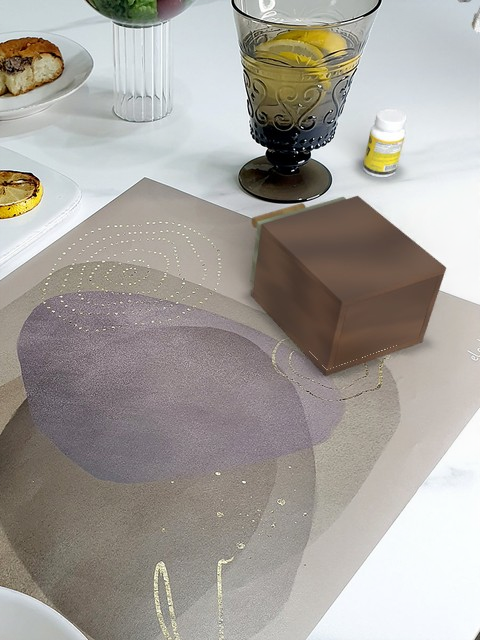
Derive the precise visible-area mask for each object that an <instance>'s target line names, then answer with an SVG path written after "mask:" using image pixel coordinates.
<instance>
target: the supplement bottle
mask: <svg viewBox="0 0 480 640" xmlns="http://www.w3.org/2000/svg"><path fill="white" fill-rule="evenodd" d="M406 122H407V115H406V113H404V112H403V111H401V110H399V109H395V108H383V109H381V110H379V111H377V113H376V116H375V119H374V124H373V125H372V126H371V128H370V131H369V136H368V140H367V145H366V150H365V155H364V159H363V164H362V169H363V172H365V174H368V175H369V176H371V177H376V178H388V177H392V176H393V175H394V174H396V172H397V170H398V165H399V161H400V159H401V153H402V150H403V149H402V148H403V145H404V141H405V137H406V129H405V126H406Z"/></svg>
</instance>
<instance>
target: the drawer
mask: <svg viewBox="0 0 480 640" xmlns="http://www.w3.org/2000/svg"><path fill="white" fill-rule="evenodd" d="M345 199H347V198H346V197H345V196H341V197H337V198H334V199H330V200H327V201H324V202H320V203H317V204H313V205H310V206H307V207H306V205H305V204H304V203H302V202H301V203H298V204H294V205H291V206H287V207H283V208H279V209H277V210H274V211H270V212H266V213H263V214H259V215H256V216H253V217H252V218H251V225H252V227H253V228H254V229H256V230H255V238H254V246H253V253H252V260H251V261H252V262H251V270H250V275H249V276H250V278H249V283H250V284H251V285H252V286H253V284H254V277H255V269H256V261H257V254H258V246H259V238H260V231H261V224H263V223H266V222H269V221H273V220H276V219H280V218H283V217H287V216H290V215H293V214H297V213H300V212H304V211H307V210H310V209H314V208H317V207H321V206H324V205H327V204H331V203H334V202H338V201H341V200H345Z"/></svg>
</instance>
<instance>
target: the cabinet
mask: <svg viewBox="0 0 480 640" xmlns="http://www.w3.org/2000/svg"><path fill="white" fill-rule="evenodd" d="M446 270H447V266H445V264H443V263H441V261H439V260H438V259H437V258H436V257H434V256H433V255H432V254H431V253H429V252H428V251H427V250H426V249H424V248H423V247H422V246H421V245H419V244H418V243H417V242H416V241H415V240H413V239H412V238H411V237H409V236H408V235H407V234H406V233H405V232H404V231H402V230H401V229H400V228H398V227H397V226H396V225H394V223H392V222H391V221H390V220H388V218H386V217H385V216H383V214H381V213H380V212H379V211H377V210H376V209H375V208H374V207H373V206H371V205H370V204H369V203H367V201H366V200H364V199H362V198H361V197H360V196H359V195H355V196H351V197H348V198H346V199H345V200H341V201H338V202H334V203H331V204H327V205H324V206H321V207H317V208H314V209H310V210H307V211H304V212H300V213H297V214H293V215H290V216H287V217H283V218H280V219H276V220H273V221H269V222H266V223H263V224H261V231H260V238H259V246H258V254H257V261H256V269H255V277H254V284H253V285H252V293H251V297H252V299H253V300H254V301H255V302H256V303H257V304H258V305H259V306H260V307H261V309H263V311H264V312H265V313H266V314H267V315H268V316H269V317H270V318H271V319H272V320H273V321H274V323H275V324H277V325H278V327H279V328H280V329H281V330H282V331H283V332H284V334H286V336H287V337H288V338H289V339H290V340H291V341H292V342H293V343H294V344H295V345H296V346H297V347H298V349H299V350H300V351H301V352H302V353H303V354H304V355H305V356H306V357H307V359H309V361H310V362H311V363H312V364H313V365H314V366H315V367H316V368H317V369H318V370H319V371H320V372H321V373H322V374H323V376H324V377H328V376H330V375H334V374H335V373H338V372H342V371H345V370H347V369H350V368H353V367H356V366H359V365H362V364H365V363H367V362H371V361H373V360H376V359H378V358H382V357H384V356H387V355H390V354H392V353H396V352H398V351H401V350H405V349H407V348H410V347H412V346H415V345H418V344H422V343H423V341H424V337H425V334H426V331H427V329H428V325H429V323H430V321H431V320H430V319H431V316H432V313H433V310H434V307H435V304H436V301H437V299H438V295H439V292H440V289H441V285H442V282H443V279H444V276H445V274H446V272H447V271H446ZM396 345H397V346H396ZM393 346H394V347H393ZM390 347H391V348H390ZM387 348H388V349H387ZM384 349H386V350H384ZM381 350H383V351H381ZM309 351H310V352H311V353H312V354H313V355H314V356H315V357H316V358H317V359H318V360H317V359H316V358H315V357H314V356H313V355H312V354H311V353H310V352H309ZM378 351H380V352H378ZM376 352H377V353H376ZM373 353H374V354H373ZM370 354H371V355H370ZM367 355H368V356H367ZM364 356H366V357H364ZM362 357H363V358H362ZM356 359H357V360H356ZM353 360H354V361H353ZM350 361H351V362H350ZM347 362H348V363H347ZM344 363H346V364H344ZM341 364H343V365H341ZM322 365H323V366H324V367H325V368H326V369H328V370H326V369H325V368H324V367H323V366H322ZM339 365H340V366H339ZM336 366H337V367H336ZM333 367H334V368H333ZM330 368H331V369H330Z"/></svg>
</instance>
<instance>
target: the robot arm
mask: <svg viewBox="0 0 480 640" xmlns="http://www.w3.org/2000/svg"><path fill="white" fill-rule="evenodd" d="M457 1H458V2H459V3H470V2H472V0H457ZM471 28H472V30H473V32H474V33H475V34H480V6H479V7H478V10H477V12H476V13H474V14H473V18H472V22H471Z"/></svg>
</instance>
